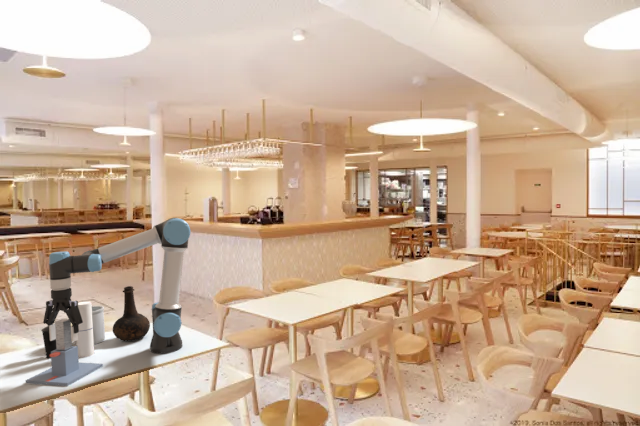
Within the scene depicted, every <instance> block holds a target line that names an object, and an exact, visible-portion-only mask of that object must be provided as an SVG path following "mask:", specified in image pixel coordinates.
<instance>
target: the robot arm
mask: <svg viewBox="0 0 640 426" xmlns="http://www.w3.org/2000/svg"><path fill="white" fill-rule="evenodd" d="M190 237H191V227H190V225H189V223H188V222H187V221H185V219H182V218H179V217H171V218H168V219H167V220H166V219H165V221H162V222H160V223H158V224H156V225H154V226H153V227H152V228H150V229H148V230H145V231H142V232H139V233H136V234H134V235H130V236H129V237H125V238H123V239H119V240H117V241H115V242H112V243H108V244H105V245H102V246H100V247H98V248H95V249H92V250H88V251H84V252H83V253H82V254H81V255H71V254H70V252H69V251H66V250H65V251H54V252H51V253H50V254H49V255H48V256H49V257H48V258H49V259H48V262H49V263H48V267H49V270H48V271H49V282H50V283H49V284H50V285H49V286H50V300H47V301H46V302H45V311H44V316H43V322H42V323H43V324H45V325H47V326H48V332H49V334H50V341H52V340H55V339H56V330H55V321H56V319H57V317H58V315H59V313H60V311H61V312H64V314H66V316H67V319H69V320H70V322H71V340H72V343H74V342H75V341H76V340H78V332H79V326H78V325H79V324H81V323H83V321H82V317H81V314H80V311H79V308H78V303H79V302H78V300H72V295H73V294H72V292H73V291H72V288H71V286H72V279H71V278H72V277H71V274H81V273H94V272H95V273H96V272H101V270H102V265H103V264H105V263H108V262H111V261H113V260H116V259H119V258H121V257H124V256H127V255H129V254H133V253H135V252H138V251H140V250H144V249H146V248H149V247H152V246H155V245H158V244H159V245H160V247H161V248H162V250H163V261H162V262H163V263H162V271H161V281H160V292H159V301H158V302H155V303H152V304H151V316H152V337H151V341H150V345H149V352H151V353H153V354H167V353H173V352H175V351H179V350H181V349H182V348H183V345H184V344H183V340H182V337H181V335H180V330H181V327H182V323H183V322H182V318H181V316H182V305H181V303H180V293H181V282H182V274H183V262H184V255H185V254H184V253H185V251H187V249H188V246H189V239H190Z"/></svg>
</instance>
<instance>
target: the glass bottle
mask: <svg viewBox="0 0 640 426" xmlns="http://www.w3.org/2000/svg"><path fill="white" fill-rule="evenodd" d="M134 291H135V289H134V287H133V286H131V285H130V286H129V285H128V286H127V285H126V286H125V287H123V290H122V293H123V294H124V303H123V304H124V305H123V307H124V308H123V313H122V316H121V317H119V318H118V319H117V320H116V321H115V322H114V324H113V326H112V332H113V335H114V336H115V338H116V339H118V340H120V341H122V342H133V341H138V340H140V339H143V338H144V337H145V336H146V335H147V334H148V333H149V331H150V329H151V328H150V327H151V323H150V320H149V319H148V318H147V316H145V315H143V314H142V313H139V312H138V310H137V307H136V302H135V296H134Z"/></svg>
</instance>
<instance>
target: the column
mask: <svg viewBox="0 0 640 426" xmlns="http://www.w3.org/2000/svg"><path fill="white" fill-rule="evenodd" d="M54 324H55V330H56V347H57V351H67V350H69V349H71V348H72V346H73V342H72V340H71V326H72V323H71V322H70V320H69V318H60V319H59V320H58V319H57V320H55V321H54Z"/></svg>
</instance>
